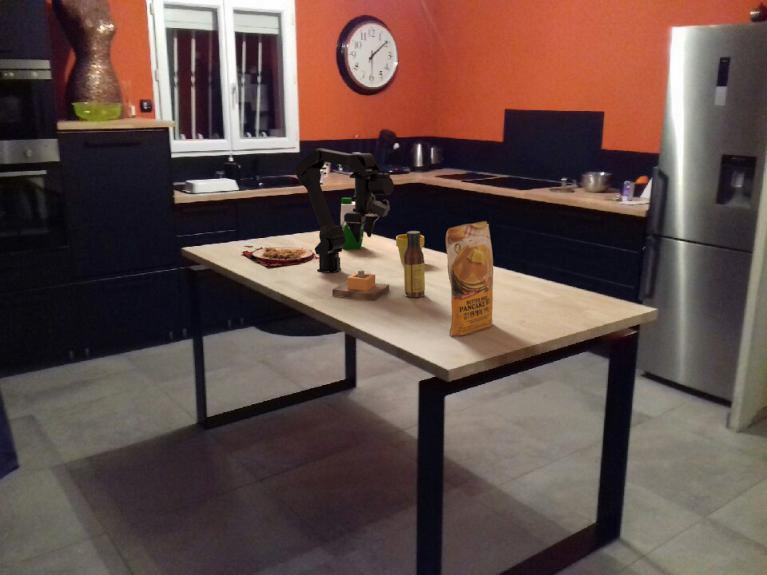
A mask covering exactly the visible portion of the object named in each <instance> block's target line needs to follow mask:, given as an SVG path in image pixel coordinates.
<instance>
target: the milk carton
mask: <svg viewBox="0 0 767 575" xmlns="http://www.w3.org/2000/svg"><path fill="white" fill-rule="evenodd" d="M353 208H355V201H353V197H342V198H341V203H340V226H342V228H343V232H344V234H345V235H346V237H345V244H344V246H343V249H342V250H355V251H356V250H362V245H363V240H364V230H365V226H364V225H363V226H362V230H361V238H360V242H356V240H355V238H354V236H353V234H352V232H351V230H350V228H349V226H348V224H346V222H344V215H345V214H346V213H348V212H353Z"/></svg>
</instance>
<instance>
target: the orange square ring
mask: <svg viewBox="0 0 767 575" xmlns="http://www.w3.org/2000/svg"><path fill="white" fill-rule="evenodd" d="M346 281H347V289H356V290H364V291H367V290H369V289H371V288H372V287H374V286H375V283H376V274H373V273H365V272H364V278H358V272H355V273H352V274H351V275H349V276H347V277H346Z"/></svg>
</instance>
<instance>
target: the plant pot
mask: <svg viewBox="0 0 767 575" xmlns="http://www.w3.org/2000/svg"><path fill="white" fill-rule="evenodd" d="M407 244H408V238H407V233H405V234H399V235H396V237H395V247H397V249H398V254H399V258H400V263H401V264H403V265H404V253H405V251H406V249H407ZM423 247H425V236H424V235H422V234H420V248H421V250H422V249H423ZM422 251H423V250H422Z"/></svg>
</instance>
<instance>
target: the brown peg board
mask: <svg viewBox="0 0 767 575" xmlns="http://www.w3.org/2000/svg"><path fill="white" fill-rule="evenodd" d="M357 273H358V278H364V273H365V270H358V271H357ZM331 291H332V294H331V296H333V297H339V296H340V297H341V298H347V297H348V299H354V300H355V299H356V300H357V299H358V300H366V301H373V302H374V301H377V300H378V299H380V298H381V297H382V296H384V295H385V294H386V293H388V292H390V284H388V283H387V284H386V283H379V282H378V283H377V282H375V286H374V287H372V288H371V289H369V290H367V291H364V290H356V289H347V280H346V281H345V282H343V283H341V284H339V285H337V286H336V287H334V288H332V290H331Z"/></svg>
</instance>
